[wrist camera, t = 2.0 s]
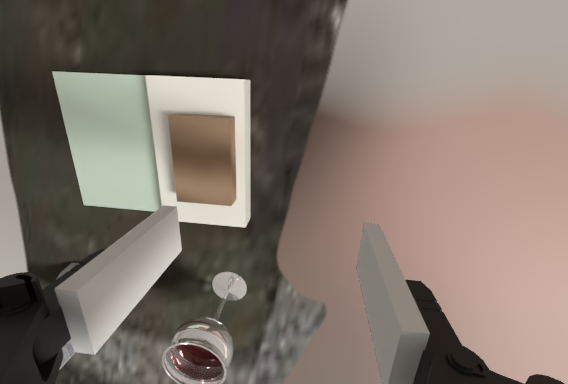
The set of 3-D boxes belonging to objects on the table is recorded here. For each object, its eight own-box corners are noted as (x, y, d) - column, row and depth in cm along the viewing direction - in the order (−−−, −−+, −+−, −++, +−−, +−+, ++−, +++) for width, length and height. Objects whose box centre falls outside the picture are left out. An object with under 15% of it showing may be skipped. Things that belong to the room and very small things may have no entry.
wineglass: (262, 294, 38) (240, 378, 27) (226, 312, 40) (191, 398, 29) (233, 258, 37) (196, 332, 26) (196, 279, 39) (147, 356, 27)
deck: (250, 218, 34) (245, 227, 32) (173, 211, 35) (163, 219, 33) (250, 80, 29) (244, 79, 26) (158, 76, 29) (145, 75, 27)
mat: (170, 210, 35) (168, 212, 35) (86, 203, 36) (83, 205, 36) (154, 76, 29) (151, 75, 29) (56, 71, 30) (51, 71, 30)
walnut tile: (236, 199, 31) (231, 206, 29) (185, 194, 31) (177, 201, 29) (234, 116, 28) (229, 118, 26) (177, 113, 28) (167, 114, 26)
